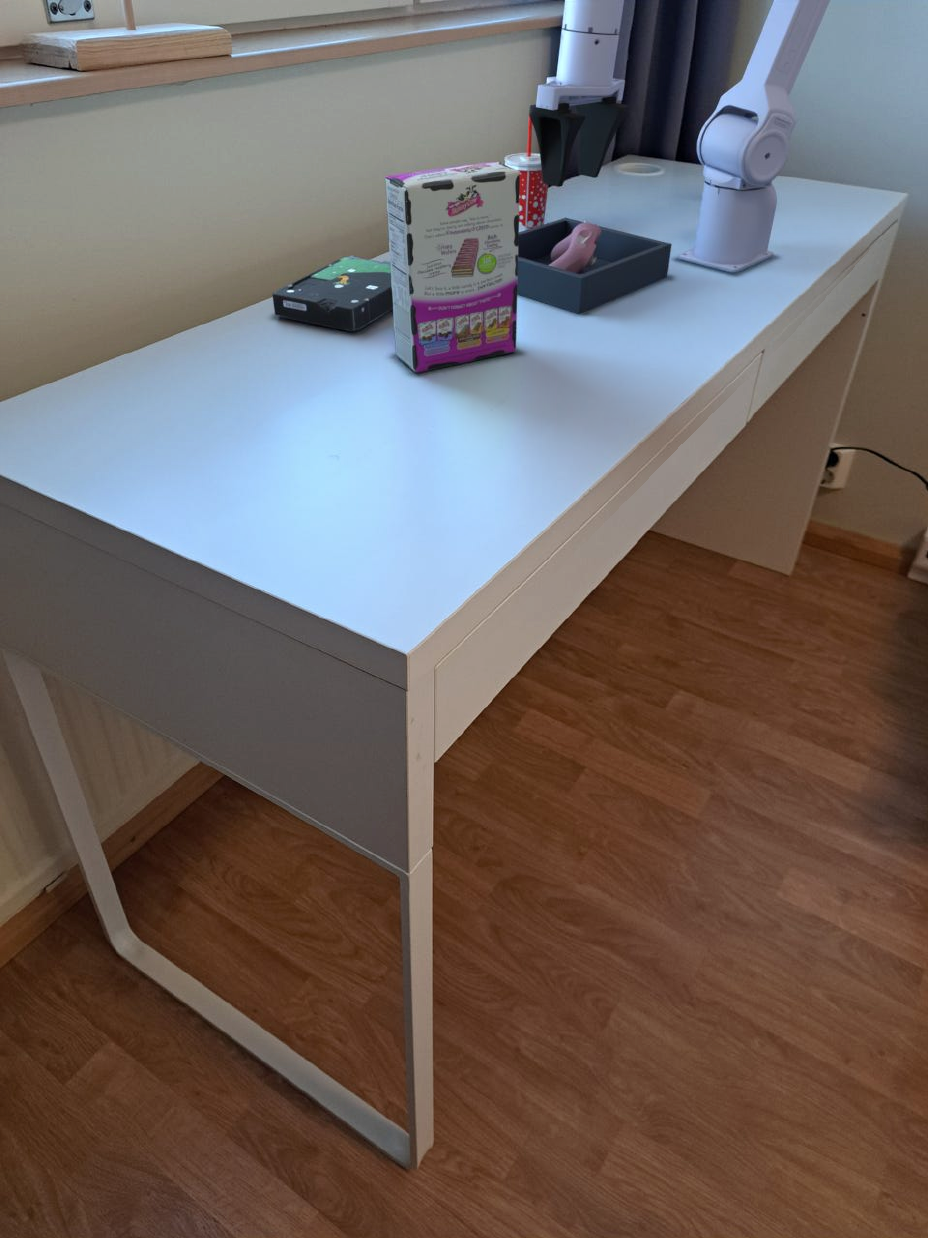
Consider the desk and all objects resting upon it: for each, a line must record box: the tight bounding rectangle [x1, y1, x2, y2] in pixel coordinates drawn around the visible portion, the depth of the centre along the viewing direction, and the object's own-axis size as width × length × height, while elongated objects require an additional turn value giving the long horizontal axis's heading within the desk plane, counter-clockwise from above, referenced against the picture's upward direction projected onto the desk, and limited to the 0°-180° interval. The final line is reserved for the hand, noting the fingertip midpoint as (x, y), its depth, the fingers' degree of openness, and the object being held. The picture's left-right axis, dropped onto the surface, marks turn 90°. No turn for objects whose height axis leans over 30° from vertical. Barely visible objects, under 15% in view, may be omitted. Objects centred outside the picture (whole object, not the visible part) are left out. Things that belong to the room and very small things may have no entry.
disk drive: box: [271, 255, 393, 332], centre depth 99 cm, size 10×3×15 cm
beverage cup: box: [504, 116, 549, 232], centre depth 117 cm, size 6×6×14 cm
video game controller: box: [549, 219, 602, 274], centre depth 105 cm, size 10×5×7 cm, turn 168°
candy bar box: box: [384, 161, 520, 373], centre depth 84 cm, size 11×5×16 cm, turn 117°
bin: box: [517, 217, 672, 315], centre depth 106 cm, size 17×16×4 cm
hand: (570, 180), depth 99 cm, fingers open, 7 cm apart
